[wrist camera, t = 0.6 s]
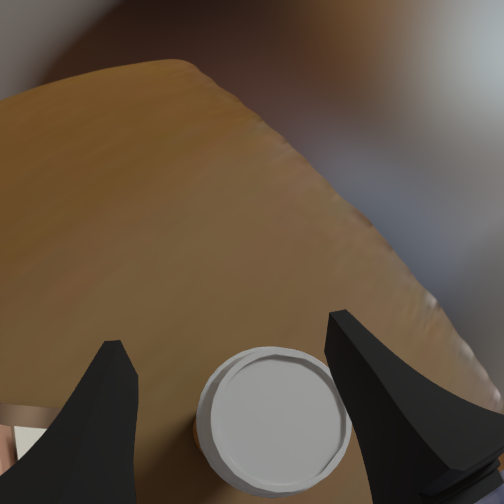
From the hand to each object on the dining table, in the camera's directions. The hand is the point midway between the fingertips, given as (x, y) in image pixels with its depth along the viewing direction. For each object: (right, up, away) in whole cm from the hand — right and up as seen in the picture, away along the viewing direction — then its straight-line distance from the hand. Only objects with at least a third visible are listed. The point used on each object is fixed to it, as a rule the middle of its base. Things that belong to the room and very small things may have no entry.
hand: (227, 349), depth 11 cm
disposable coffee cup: (-1, -12, +14) cm, 19 cm away
